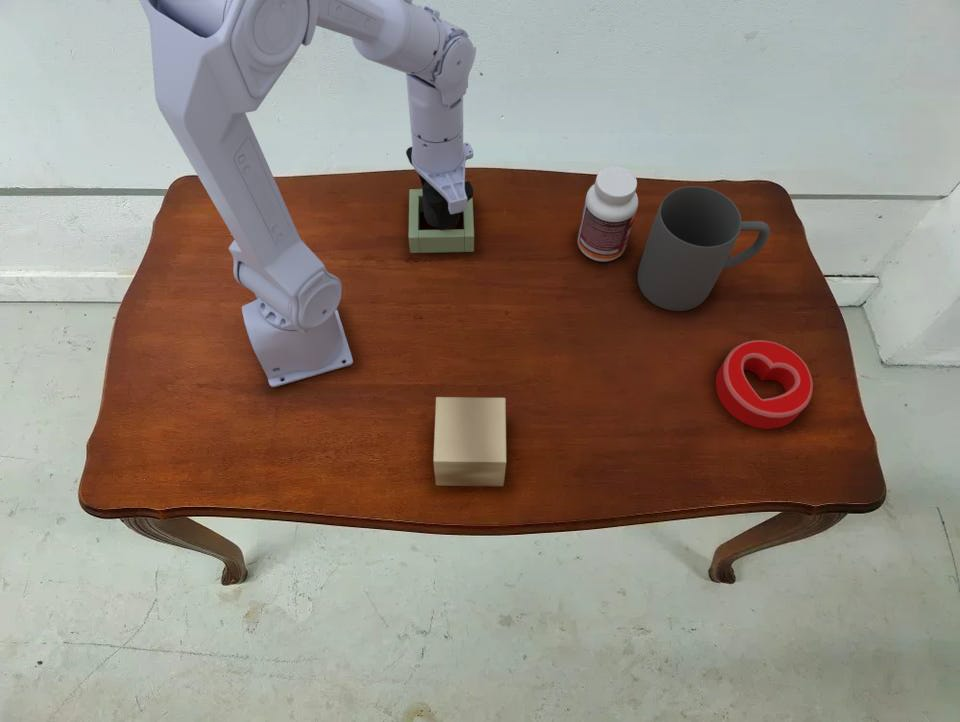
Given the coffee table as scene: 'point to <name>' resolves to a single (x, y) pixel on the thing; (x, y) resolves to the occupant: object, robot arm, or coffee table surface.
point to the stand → (470, 441)
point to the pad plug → (429, 210)
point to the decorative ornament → (767, 365)
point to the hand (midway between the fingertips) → (441, 211)
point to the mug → (692, 247)
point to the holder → (438, 238)
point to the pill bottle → (608, 214)
